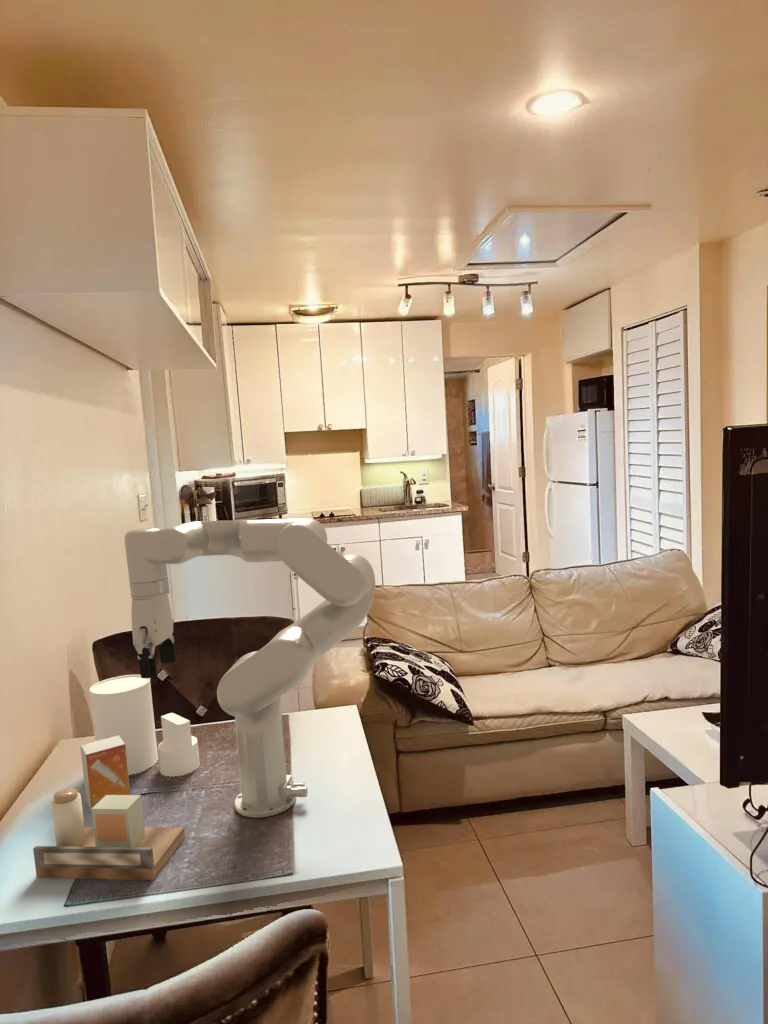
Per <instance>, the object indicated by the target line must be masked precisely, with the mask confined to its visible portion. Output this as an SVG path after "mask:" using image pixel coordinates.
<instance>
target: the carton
mask: <svg viewBox="0 0 768 1024" xmlns="http://www.w3.org/2000/svg"><path fill="white" fill-rule="evenodd" d="M91 810H92V813H91V817H92V825H93V826H92V827H93V828H94V837H95V846H96V847H136V846H137V845H138V843H139V842H140V841H141V840H142V839H143V838H144V836H145V830H144V827H145V820H144V812H143V803H142V795H141V794H130V795H106V796H105V797H104V798H102V799H101V800H100V801H99V802H98V803H97V804H96V805H95V806H94V807H93V808H92V809H91Z"/></svg>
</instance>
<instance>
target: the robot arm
mask: <svg viewBox="0 0 768 1024" xmlns="http://www.w3.org/2000/svg"><path fill="white" fill-rule="evenodd" d="M124 546H125V547H124V548H125V556H126V563H127V564H126V565H127V571H128V574H127V575H128V582H129V588H130V598H131V611H130V612H131V630H132V631H131V633H132V643H133V647H134V649H135V653H136V655H137V659H138V662H139V663H138V664H139V670H140V671H139V672H140V675H141V678H150V679H155V678H157V677H158V667H157V659H156V658H157V657H154V655H155V650H156V647H157V646H158V652H159V660H160V663H162V664H169V663H175V662H176V661H177V658H176V649H175V637H174V634H175V630H174V623H175V620H174V619H173V616H172V614H173V613H172V608H171V603H170V597H169V594H170V593H171V592H170V584H169V575H168V566H167V565H180V564H184V563H186V562H188V561H190V560H193V559H194V558H195V559H196V558H197V557H206V556H209V557H210V556H232V557H237V558H240V560H243V561H244V562H247V563H267V562H282V563H283V564H284V565H285V566H286V567H288V569H290V571H291V572H293V573H294V574H295V575H296V576H297V577H299V578H300V579H301V580H302V581H303V583H305V584H307V585H308V586H309V587H310V588H311V589H312V590H314V592H315V593H318V594H319V596H321V597H322V598H323V599H324V600H323V601H322V602H320V604H318V605H317V606H315V607H313V609H312V610H311V611H310V612H308V613H307V614H305V615H304V616H302V617H300V618H299V619H298V620H296V621H295V622H293V623H292V624H290V625H288V626H287V627H285V628H283V629H281V630H280V631H279V632H277V634H275V636H274V637H272V639H271V640H270V641H269V642H268V643H267V644H265V645H264V646H263V647H261V648H260V649H259V650H255V651H251V652H248V653H246V654H244V655H242V656H241V657H240V658H239V659H238V660H237V661H235V663H234V664H233V665H232V666H231V667H230V668H229V669H228V670H227V672H225V673H224V675H223V676H222V677H221V679H220V680H219V682H218V685H217V689H216V699H217V702H218V705H219V707H220V708H221V709H222V710H223V711H224V712H225V713H226V714H228V715H229V716H232V717H234V726H235V736H236V739H235V740H236V751H237V759H238V760H237V761H238V770H239V781H240V783H239V784H240V793H239V794H237V796H236V798H235V800H234V809H235V811H236V813H238V814H239V815H241V816H244V817H248V818H253V819H255V818H265V817H266V818H267V817H272V816H275V815H278V814H281V813H283V812H285V811H286V810H288V809H289V808H291V807H292V806H293V805H294V803H295V802H296V800H297V798H307V797H308V791H309V790H308V787H307V786H305V782H295V781H292V775H291V774H288V773H287V765H286V764H287V763H286V753H285V752H286V751H285V741H284V740H285V739H284V731H283V730H284V729H283V728H284V725H283V716H282V715H283V714H282V713H283V712H282V696H283V695H284V694H286V693H287V692H289V691H290V690H291V689H293V688H295V687H296V686H297V685H298V684H299V683H300V682H302V681H303V679H304V678H306V676H307V675H308V673H310V670H311V669H312V668H313V667H314V665H315V663H316V662H317V660H319V659H320V658H321V657H322V656H323V655H325V654H326V653H327V652H329V651H330V650H332V649H333V648H334V647H335V646H337V645H338V644H339V643H340V642H342V641H343V640H344V639H346V638H347V637H349V636H350V635H351V634H352V633H353V632H354V631H355V630H356V629H357V628H359V626H360V625H361V624H362V623H363V622H364V620H365V619H366V617H367V616H368V614H369V613H370V610H371V608H372V606H373V603H374V600H375V595H376V577H375V572H374V569H373V566H372V564H371V563H370V561H368V559H367V558H365V557H363V555H359V554H356V553H355V554H345V555H342V554H340V553H339V552H338V551H337V550H335V549H334V548H333V547H332V545H330V544H329V543H328V533H327V530H326V528H325V527H324V525H323V524H322V523H321V522H320V521H319V520H317V519H314V518H310V517H309V518H306V517H303V518H301V517H300V518H299V517H297V518H296V517H295V518H274V519H273V518H272V519H269V518H267V519H239V520H202V521H201V520H199V521H188V522H184V523H180V524H176V525H174V526H170V527H166V528H163V529H160V528H157V527H145V528H137V529H131V530H129V531H127V532H126V533H125V535H124Z"/></svg>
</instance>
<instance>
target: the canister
mask: <svg viewBox="0 0 768 1024" xmlns="http://www.w3.org/2000/svg"><path fill="white" fill-rule="evenodd" d="M89 696H90V704H91V712H92V724H93V731H94V732H93V733H94V739H95V740H94V742H95V741H98V740H102V739H107V738H111V737H114V736H118V735H119V736H120V737H121V739H122V740H123V742H124V743H125V747H126V757H127V767H128V777H129V775H131V776H133V775H132V774H134V775H137V774H136V773H138V774H140V773H143V772H145V771H147V770H149V769H151V768H152V767H153V766H154V764H155V763H156V764H157V763H158V761H159V755H158V746H157V743H158V742H157V735H156V734H157V733H156V727H155V716H154V707H153V706H154V705H153V695H152V687H151V678H141V674H125V675H118V676H115V677H114V676H113V677H110V678H106V679H103V680H100V681H98V682H96V683H94V684H93V685H90V688H89ZM157 760H158V761H157ZM156 764H155V765H156ZM150 767H151V768H150ZM148 768H149V769H148ZM146 769H147V770H146ZM142 771H143V772H142ZM139 772H140V773H139Z"/></svg>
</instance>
